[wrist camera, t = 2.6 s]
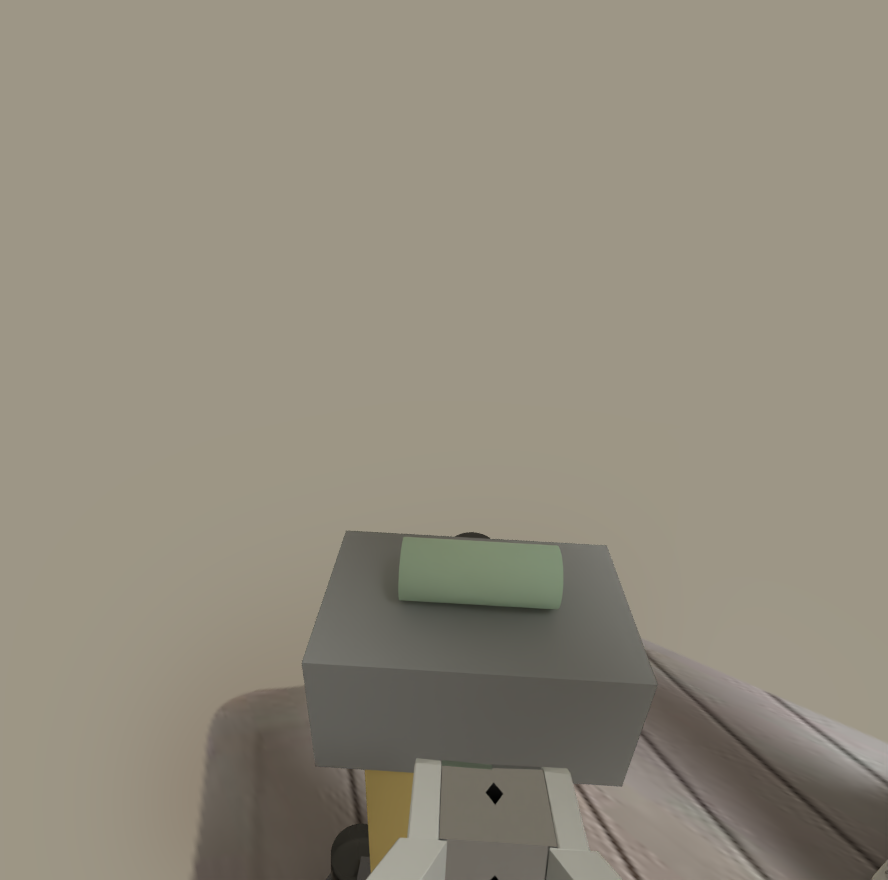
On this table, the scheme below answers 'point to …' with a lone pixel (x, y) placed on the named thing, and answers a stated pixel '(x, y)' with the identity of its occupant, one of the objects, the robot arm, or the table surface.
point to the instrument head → (472, 664)
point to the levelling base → (351, 854)
